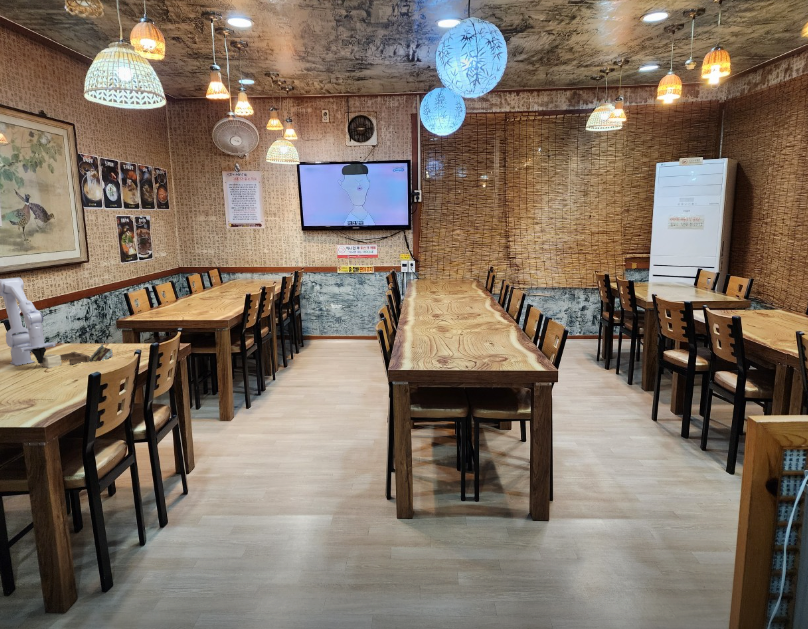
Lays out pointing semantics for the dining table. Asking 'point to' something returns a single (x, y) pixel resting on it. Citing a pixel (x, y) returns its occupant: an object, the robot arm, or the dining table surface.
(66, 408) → the dining table surface
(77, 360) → the walnut stop
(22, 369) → the dining table surface
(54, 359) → the maple block
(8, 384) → the dining table surface
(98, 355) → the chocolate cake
